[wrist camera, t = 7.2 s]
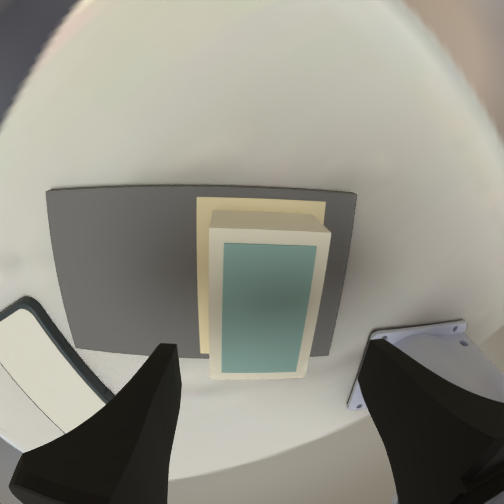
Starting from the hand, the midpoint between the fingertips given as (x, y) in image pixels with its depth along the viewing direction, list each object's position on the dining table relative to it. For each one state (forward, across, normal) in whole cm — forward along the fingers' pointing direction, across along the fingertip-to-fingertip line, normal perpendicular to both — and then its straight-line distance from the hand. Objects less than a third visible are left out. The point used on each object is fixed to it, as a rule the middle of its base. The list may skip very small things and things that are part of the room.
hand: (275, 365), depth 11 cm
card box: (+6, 0, 0) cm, 7 cm away
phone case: (+8, +15, +10) cm, 20 cm away
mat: (+7, +4, 0) cm, 8 cm away
